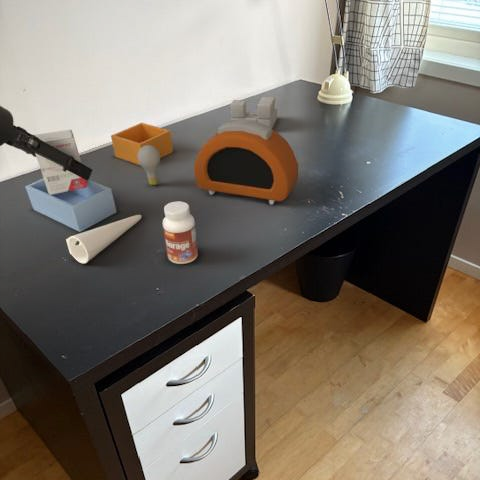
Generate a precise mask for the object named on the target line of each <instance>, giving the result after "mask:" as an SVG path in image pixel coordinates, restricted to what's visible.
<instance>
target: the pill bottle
mask: <svg viewBox="0 0 480 480" xmlns="http://www.w3.org/2000/svg"><path fill="white" fill-rule="evenodd" d="M163 210H164V216H165V217H164V218H163V219H162V230H163V236H164V242H165V249H166V255H167V259H168V260H169V261H170V262H171V263H173V264H175V265H176V264H177V265H184V264H189V263H192V262H194V261H195V260H196V259H197V257H198V256H199V255H198V254H199V252H198V251H199V250H198V240H197V233H196V232H197V231H196V221H195V218H194V216H193V215H192V214H191V211H190V206H189V204H188V203H187V202H184V201H179V200H177V201H171V202H168V203H167V204H166V205H164V208H163Z"/></svg>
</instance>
